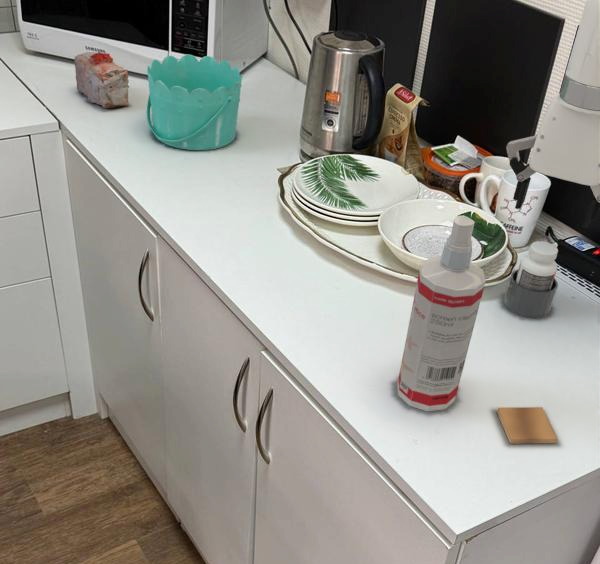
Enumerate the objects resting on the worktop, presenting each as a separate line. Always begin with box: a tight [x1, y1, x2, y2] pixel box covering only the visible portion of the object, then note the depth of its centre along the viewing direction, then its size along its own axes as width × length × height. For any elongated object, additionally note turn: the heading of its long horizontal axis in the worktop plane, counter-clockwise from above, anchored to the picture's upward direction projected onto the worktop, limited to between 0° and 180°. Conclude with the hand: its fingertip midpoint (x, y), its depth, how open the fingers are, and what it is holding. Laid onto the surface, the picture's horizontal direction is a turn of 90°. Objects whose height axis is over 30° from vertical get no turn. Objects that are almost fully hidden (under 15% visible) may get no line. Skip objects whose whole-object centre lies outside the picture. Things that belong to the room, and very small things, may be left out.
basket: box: [146, 53, 243, 151], centre depth 161 cm, size 19×18×13 cm
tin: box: [503, 268, 559, 319], centre depth 123 cm, size 7×7×4 cm
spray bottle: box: [397, 214, 487, 412], centre depth 98 cm, size 8×8×25 cm
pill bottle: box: [515, 240, 559, 292], centre depth 121 cm, size 5×5×10 cm
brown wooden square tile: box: [496, 406, 558, 445], centre depth 102 cm, size 6×6×1 cm
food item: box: [74, 51, 130, 109], centre depth 173 cm, size 14×8×10 cm, turn 41°
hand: (552, 214), depth 114 cm, fingers open, 9 cm apart
